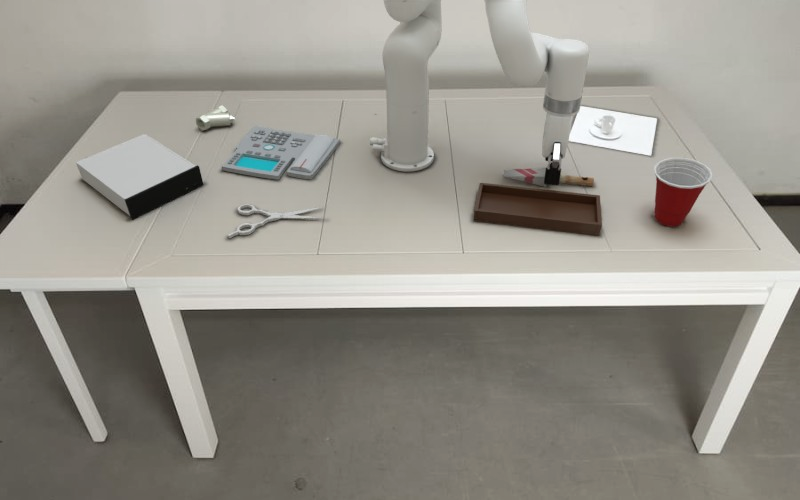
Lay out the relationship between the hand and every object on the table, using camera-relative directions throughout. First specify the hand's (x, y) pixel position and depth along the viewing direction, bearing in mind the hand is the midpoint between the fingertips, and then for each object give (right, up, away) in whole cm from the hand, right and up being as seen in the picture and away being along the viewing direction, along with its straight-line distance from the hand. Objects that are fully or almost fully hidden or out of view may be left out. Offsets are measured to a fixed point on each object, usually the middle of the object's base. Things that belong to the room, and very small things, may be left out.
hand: (551, 172), depth 142 cm
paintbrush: (-1, -2, +2) cm, 3 cm away
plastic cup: (+22, -11, -9) cm, 26 cm away
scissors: (-59, -11, -8) cm, 61 cm away
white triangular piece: (+21, +13, +21) cm, 32 cm away
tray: (-5, -10, -7) cm, 13 cm away
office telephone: (-62, +5, +11) cm, 64 cm away
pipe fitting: (-81, +15, +23) cm, 85 cm away
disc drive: (-92, -2, +2) cm, 92 cm away
